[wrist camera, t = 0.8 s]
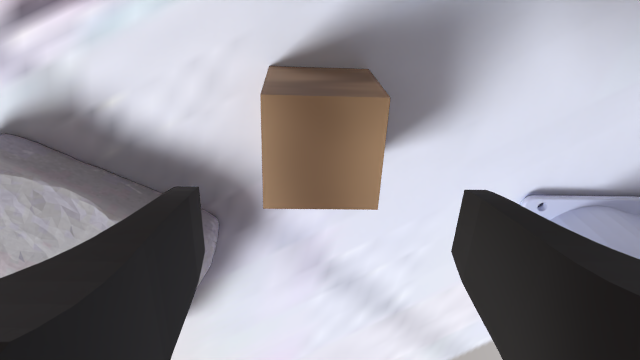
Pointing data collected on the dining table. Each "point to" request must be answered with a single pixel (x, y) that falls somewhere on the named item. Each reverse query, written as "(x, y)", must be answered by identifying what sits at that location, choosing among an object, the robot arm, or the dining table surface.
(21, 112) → the dining table surface
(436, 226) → the dining table surface
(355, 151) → the walnut block
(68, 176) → the stone block
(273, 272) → the dining table surface
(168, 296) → the robot arm
